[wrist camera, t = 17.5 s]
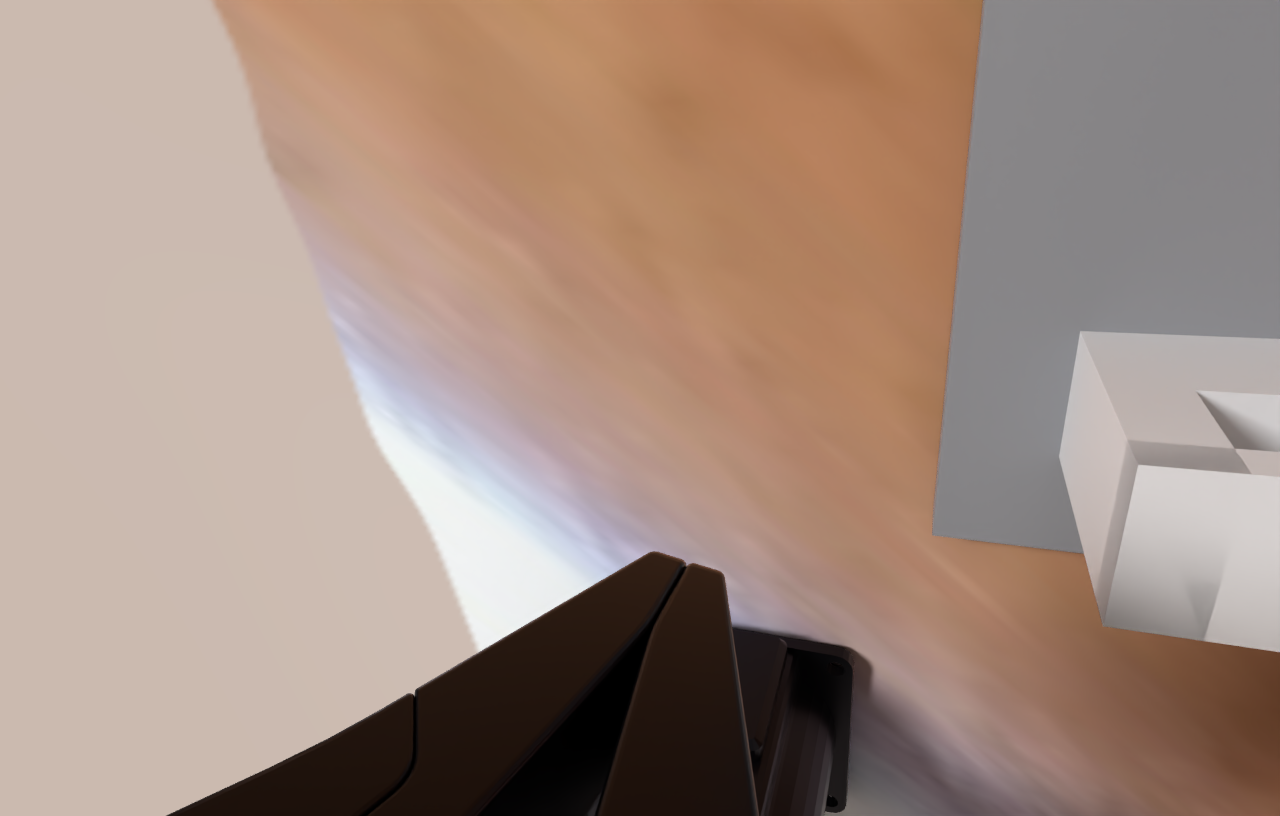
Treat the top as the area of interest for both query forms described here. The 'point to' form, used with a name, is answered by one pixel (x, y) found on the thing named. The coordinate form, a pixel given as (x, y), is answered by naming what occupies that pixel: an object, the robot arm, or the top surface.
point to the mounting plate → (1124, 307)
